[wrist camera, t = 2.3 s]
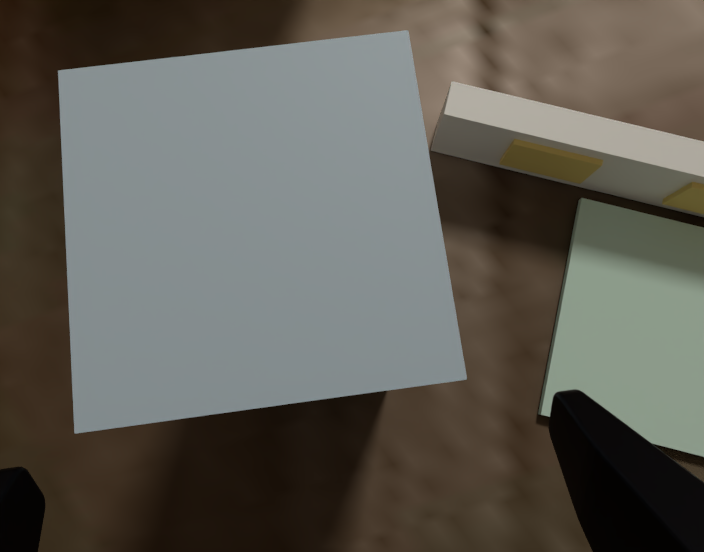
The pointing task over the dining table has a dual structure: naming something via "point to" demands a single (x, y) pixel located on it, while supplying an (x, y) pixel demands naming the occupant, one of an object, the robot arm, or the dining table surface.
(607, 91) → the dining table surface
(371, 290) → the tea tin
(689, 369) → the pad
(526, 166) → the rail
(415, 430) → the dining table surface
